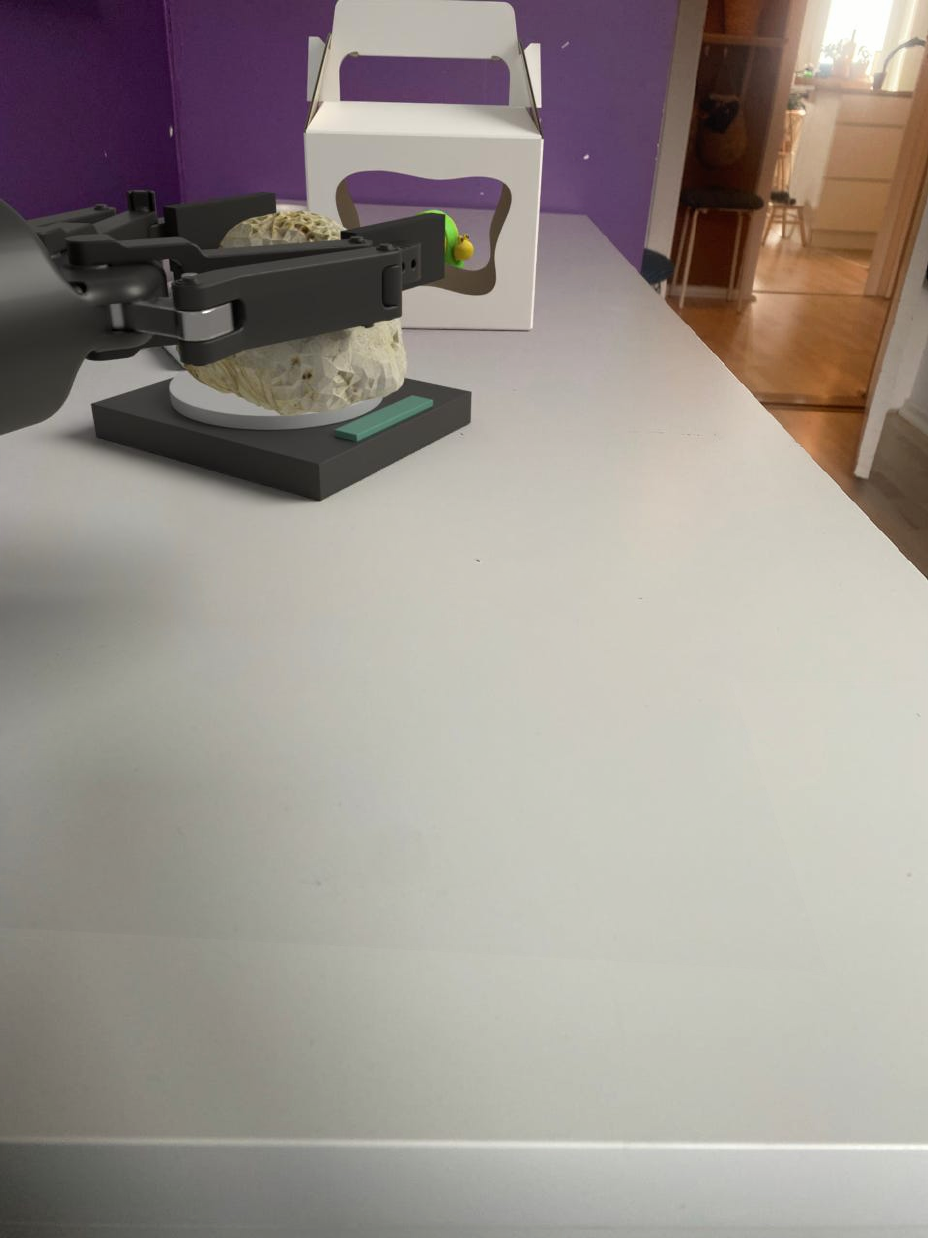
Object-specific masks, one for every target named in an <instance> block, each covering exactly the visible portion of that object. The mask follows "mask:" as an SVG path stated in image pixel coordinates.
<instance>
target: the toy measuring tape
mask: <svg viewBox="0 0 928 1238" xmlns="http://www.w3.org/2000/svg"><path fill="white" fill-rule="evenodd" d="M431 212H432V213H440V214H446V213H445V212H444V211H441V210H438V209H428V210H425V211H421V212H418V213H416V214H414V215H413V216H416V215H421V214H426V213H431ZM469 240H470V236H469V234H467V233H464V234H463V235H460V234H459V229H458V227H457V225H456V223H455V221H454V220H453V219H452V218H451V217H450V216H449V215H447V214H446V215H445V263H447V264H450V265H453V266H456V267H458V268H461V269H463V268H464V265H465V264H464V262H466V261H468V260H470V259H471V258H472V257H473V255H474V253H475V249H474V246H473V245H474V244H472V243H471V242H470V241H469Z"/></svg>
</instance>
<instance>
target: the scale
mask: <svg viewBox="0 0 928 1238" xmlns="http://www.w3.org/2000/svg"><path fill="white" fill-rule="evenodd" d="M472 395H473V394H472V391H471V390H467V389H461V388H456V387H451V386H447V385H441V384H437V383H432V382H427V381H422V380H418V379H414V378H413V379H412V378H408V377H404V382H403V385H402V386H401V387H400V388H399V389H398V390H397V391H395V392H393V393H391V394H389V395H388V396H386V397H376V398H373V399H369V400H364V401H360V402H358V403H355V404H352V405H349V406H347V407H346V408H343V409H337V410H331V411H325V412H306V413H302V414H299V415H295V416H289V415H280V414H279V413H277V412H276V411H275V410H268V409H264V408H263V407H259V406H257V405H255V404H253V403H250V402H247V401H246V400H245V399H244V398H242V397H238V396H237V395H236V394H235V393H221V392H220V391H218V390H216V389H214V388H212V387H209V386H207V385H205V384H203V383H201V382H199V381H198V380H196V379H195V378H194V377H193V376H192V375H191V374H190V373H189V372H188V371H186V370H182V371H181V372H180V373H178V374H176V376H174V377H170V378H167V379H164V380H161V381H158V382H155V383H152V384H149V385H146V386H142V387H139V388H136V389H133V390H130V391H126V392H123V393H120V394H116V395H114V396H111V397H108V398H104V399H101V400H98V401H94V402H92V403H90V408H91V415H92V421H93V427H94V432H95V433H94V434H95V437H97V438H100V439H103V440H106V441H110V442H114V443H117V444H120V445H124V446H127V447H131V448H135V449H138V450H140V451H141V450H142V451H145V452H149V453H153V454H154V455H155V454H156V455H159V456H163V457H165V458H170V459H172V460H173V459H174V460H177V461H181V462H184V463H187V464H191V465H194V466H198V467H201V468H205V469H209V470H210V471H211V470H212V471H216V472H219V473H222V474H225V475H230V476H233V477H235V478H240V479H243V480H246V481H250V482H253V483H257V484H260V485H264V486H267V487H271V488H274V489H278V490H282V491H285V492H289V493H291V494H295V495H299V496H302V497H305V498H309V499H313V500H316V501H320V502H321V501H323V500H325V499H327V498H329V497H331V496H333V495H335V494H336V493H338V492H340V491H343V490H344V489H346V488H348V487H350V486H352V485H354V484H356V483H358V482H360V481H361V480H363V479H365V478H367V477H369V476H371V475H373V474H375V473H376V472H379V471H382V469H384V468H386V467H389V466H390V465H392V464H395V463H396V462H398V461H400V460H402V459H403V458H406V457H407V456H410V455H411V454H414V453H415V452H417V451H419V450H421V449H423V448H425V447H428V445H431V444H433V443H435V442H436V441H438V440H441V439H442V438H444V437H446V436H448V435H450V434H452V433H453V432H456V431H458V430H459V429H461V428H463V427H465V426H467V425H469V424H471V422H472V397H473V396H472Z"/></svg>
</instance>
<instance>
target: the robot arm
mask: <svg viewBox="0 0 928 1238" xmlns="http://www.w3.org/2000/svg"><path fill="white" fill-rule="evenodd" d="M125 193H126V200H127V209H128V210H126V211H123V212H120V213H117V208H116V207H115V206H114V207H113V206H108V204H106V203H96V204H94V206H90V207H85V208H79V209H76V210H75V209H74V210H72V211H66V212H61V213H56V214H52V215H47V216H42V217H36V218H31V219H27V220H26V219H25V218H24V217H23V216H22V215H21V214H20V213H19V212H18V211H17V210H16V209H15V208H14V207H13V206H11V205H10V204H9V203H8V202H6V201H4V200H3V199H2V198H0V436H4V435H6V434H10V433H13V432H16V431H20V430H22V429H25V428H28V427H31V426H35V425H38V424H40V423H43V422H45V421H47V420H48V419H50V418H51V417H53V416H54V415H55V414H56V413H57V412H58V411H59V410H60V409H61V408H62V407H63V406H64V404H65V402H66V401H67V399H68V397H69V396H70V394H71V391H72V388H73V385H74V383H75V381H76V378H77V376H78V374H79V371H80V369H81V366H82V365H83V363H84V361H85V360H87V361H92V362H105V361H106V362H107V361H115V360H122V359H130V358H132V357H135V355H136V354H138V353H139V352H140V351H142V350H146V349H155V348H164V347H163V346H171V345H178V347H179V356H180V361H181V362H182V363H184V364H186V365H193V366H205V365H207V364H211V363H214V362H217V361H219V360H222V359H224V358H227V357H229V356H232V355H234V354H237V353H239V352H242V351H244V350H248V349H253V348H258V347H262V346H267V345H272V344H277V343H282V342H286V341H291V340H296V339H301V338H306V337H310V336H315V335H320V334H325V333H329V332H334V331H339V330H344V329H349V328H353V327H358V326H362V327H365V328H366V329H367V328H371V327H373V326H374V323H377V322H382V321H391V320H393V319H396V318H400V317H401V316H402V291H404V290H408V289H411V288H414V287H418V286H421V285H424V284H428V283H431V282H434V281H437V280H441V279H444V274H445V215H447V214H446V213H445V214H440V213H432V212H431V213H426V214H421V215H416V214H415V215H416V216H414V215H413V216H408V217H402V218H398V219H392V220H388V221H383V222H379V223H374V224H369V225H368V224H367V225H364V226H360V227H358V228H354V229H349V230H344V231H340V238H341V240H327V241H314V242H301V243H288V244H274V245H261V246H248V247H234V248H221V249H218V248H219V247H220V243H221V241H222V240H223V239H224V237H225V236H226V234H227V233H228V232H229V231H230V230H231V229H232V228H234V227H235V226H236V225H237V224H239V223H241V222H243V221H246V220H248V219H251V218H254V217H262V216H265V215H268V214H274V213H277V197H276V192H269V191H259V192H254V193H246V194H239V195H232V196H225V197H219V198H211V199H205V200H204V199H203V200H197V201H190V202H183V203H178V204H170V205H163V206H162V211H163V213H162V214H163V217H158V209H157V203H156V201H157V200H156V193H155V191H154V190H148V189H134V190H133V189H132V190H126V192H125ZM163 260H168V264H169V271H170V272H171V273H172V276H173V281H171V283H170V286H171V293H172V296H170V295H169V285H168V276H167V273H166V270H165V269H164V261H163Z"/></svg>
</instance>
